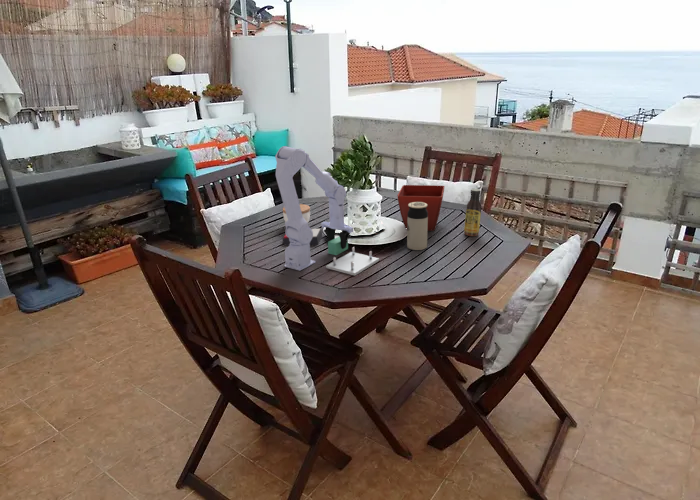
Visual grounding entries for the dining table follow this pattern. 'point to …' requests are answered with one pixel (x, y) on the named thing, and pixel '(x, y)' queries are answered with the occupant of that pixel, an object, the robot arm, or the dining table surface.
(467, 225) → the sauce bottle
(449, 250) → the dining table surface
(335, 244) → the green block
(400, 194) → the plant pot
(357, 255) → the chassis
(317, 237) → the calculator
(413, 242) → the travel mug
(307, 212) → the lidded bowl
